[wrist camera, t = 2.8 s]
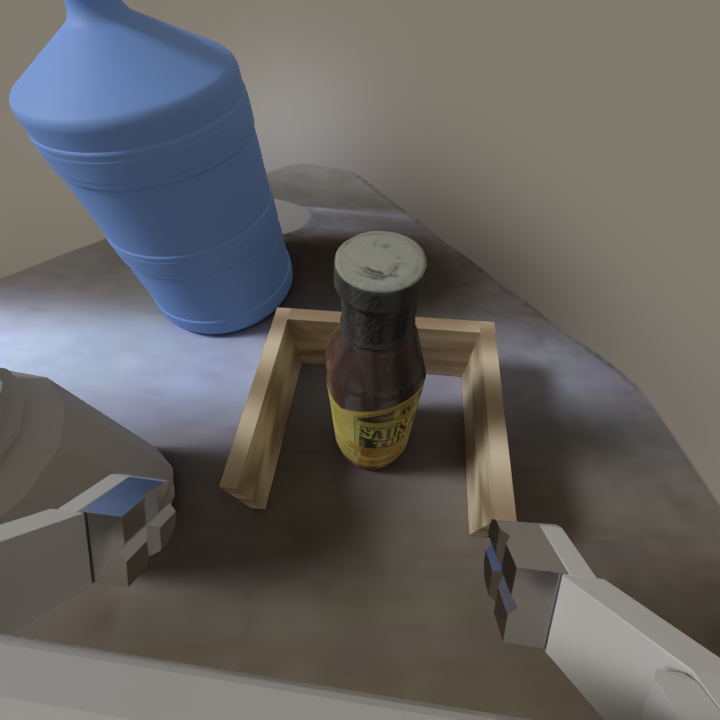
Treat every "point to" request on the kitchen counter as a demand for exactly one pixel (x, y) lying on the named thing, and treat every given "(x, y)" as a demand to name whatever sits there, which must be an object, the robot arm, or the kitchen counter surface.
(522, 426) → the kitchen counter surface
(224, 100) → the water jug
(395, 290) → the sauce bottle
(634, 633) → the robot arm
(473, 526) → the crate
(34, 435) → the jar
